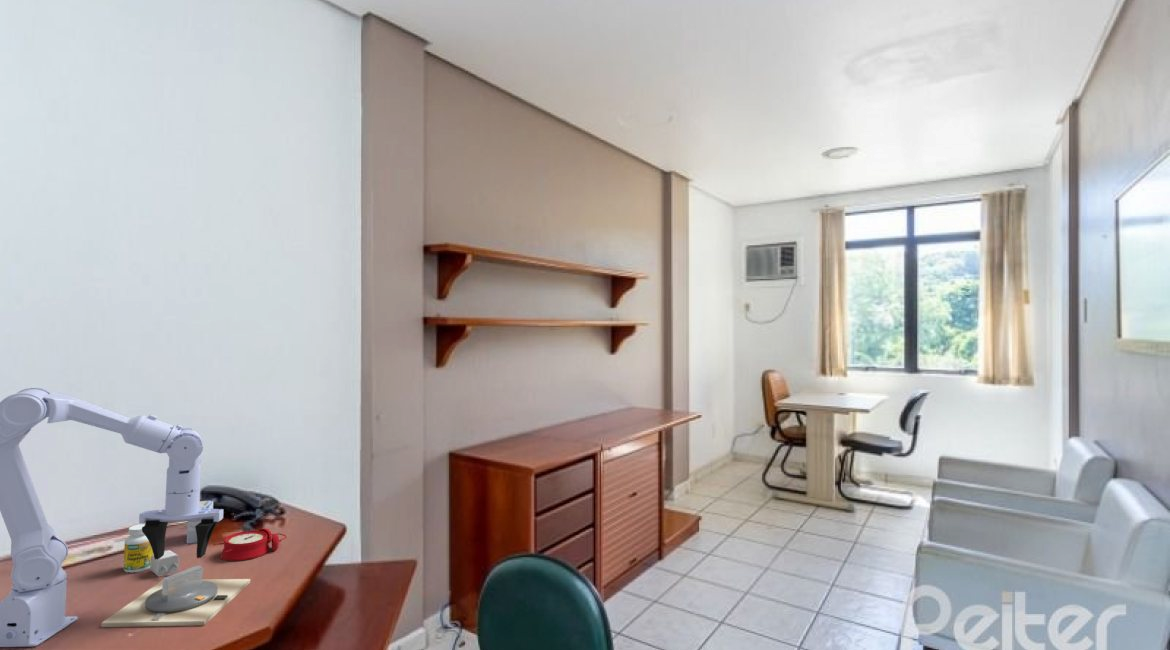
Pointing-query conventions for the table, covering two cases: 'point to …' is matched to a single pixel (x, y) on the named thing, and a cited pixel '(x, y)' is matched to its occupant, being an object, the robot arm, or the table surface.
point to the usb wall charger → (165, 564)
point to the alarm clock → (249, 544)
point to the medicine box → (191, 524)
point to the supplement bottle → (137, 550)
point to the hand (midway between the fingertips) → (180, 556)
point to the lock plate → (198, 615)
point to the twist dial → (182, 592)
